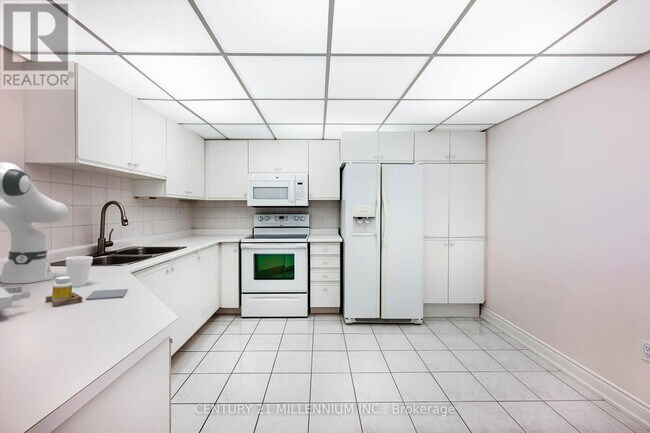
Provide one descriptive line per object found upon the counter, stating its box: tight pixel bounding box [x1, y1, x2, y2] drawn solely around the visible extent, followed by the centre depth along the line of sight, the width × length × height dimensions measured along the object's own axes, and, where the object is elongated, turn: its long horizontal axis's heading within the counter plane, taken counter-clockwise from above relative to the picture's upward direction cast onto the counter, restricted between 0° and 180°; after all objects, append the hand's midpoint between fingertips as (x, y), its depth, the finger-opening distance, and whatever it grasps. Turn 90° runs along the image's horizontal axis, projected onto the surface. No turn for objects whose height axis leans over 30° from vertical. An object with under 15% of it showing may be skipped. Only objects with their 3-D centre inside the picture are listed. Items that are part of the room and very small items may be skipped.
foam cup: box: [65, 255, 94, 288], centre depth 125 cm, size 10×9×13 cm
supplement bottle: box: [51, 276, 73, 305], centre depth 102 cm, size 5×5×10 cm
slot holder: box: [45, 291, 83, 308], centre depth 102 cm, size 8×10×2 cm
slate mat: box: [85, 288, 128, 301], centre depth 114 cm, size 12×12×1 cm
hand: (25, 291), depth 93 cm, fingers open, 8 cm apart
